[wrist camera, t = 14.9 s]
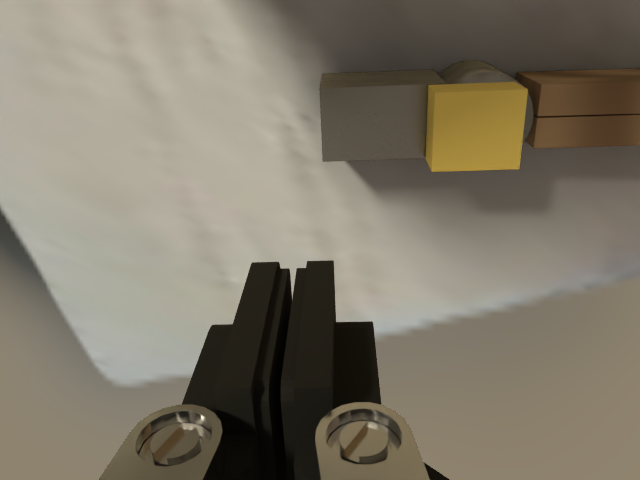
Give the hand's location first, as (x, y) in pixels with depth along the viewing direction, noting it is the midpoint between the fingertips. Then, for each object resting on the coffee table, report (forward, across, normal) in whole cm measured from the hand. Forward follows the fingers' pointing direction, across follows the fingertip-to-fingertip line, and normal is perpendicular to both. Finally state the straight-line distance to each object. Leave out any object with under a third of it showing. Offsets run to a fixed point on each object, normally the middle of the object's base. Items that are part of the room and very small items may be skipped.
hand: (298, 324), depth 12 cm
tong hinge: (+22, -5, 0) cm, 23 cm away
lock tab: (+17, -7, 0) cm, 19 cm away
